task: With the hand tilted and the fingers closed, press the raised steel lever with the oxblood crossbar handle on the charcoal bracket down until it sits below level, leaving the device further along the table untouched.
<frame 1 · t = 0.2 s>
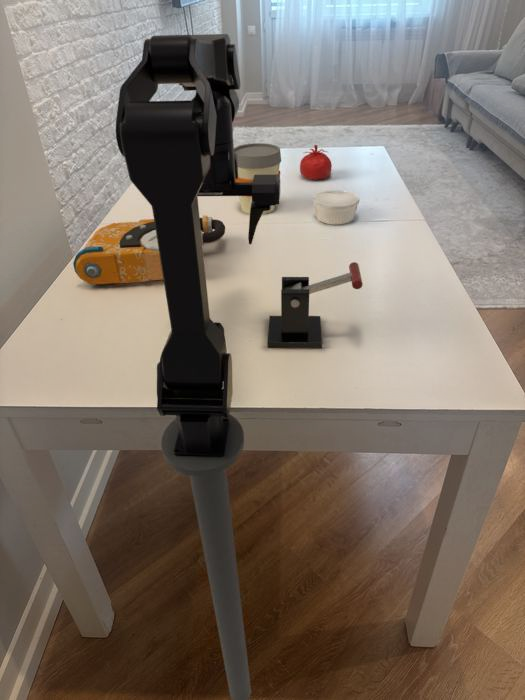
hand: (221, 243, 78), 15 cm above the table, tool pointing down, fingers open, 9 cm apart
lever: (323, 285, 78), point 10 cm above the table, hinge at 20.0°
device: (158, 262, 108), on the table
bracket: (294, 334, 84), on the table
red tomato: (315, 177, 150), on the table
reusable coffee cup: (258, 209, 131), on the table
ramekin: (335, 218, 124), on the table
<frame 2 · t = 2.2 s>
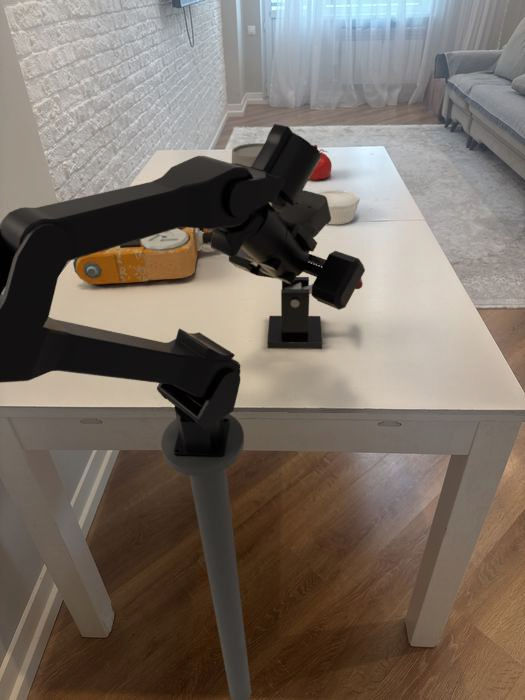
hand: (316, 287, 70), 13 cm above the table, tool tilted 45°, fingers open, 9 cm apart
nothing on the table moved.
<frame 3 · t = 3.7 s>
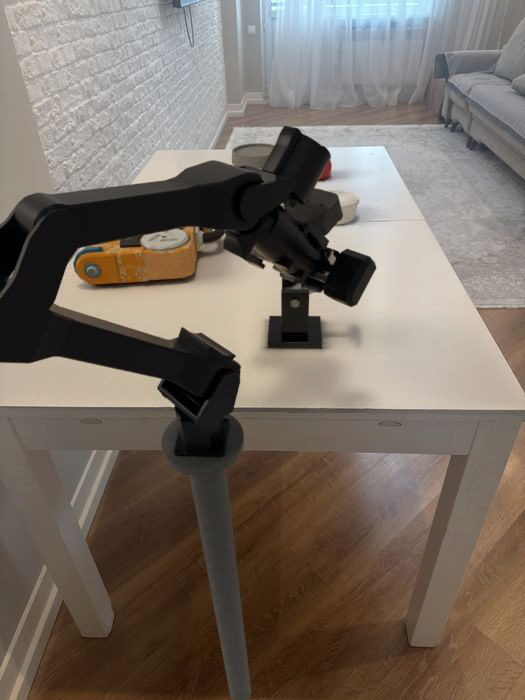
hand: (329, 282, 71), 14 cm above the table, tool tilted 45°, fingers closed
nothing on the table moved.
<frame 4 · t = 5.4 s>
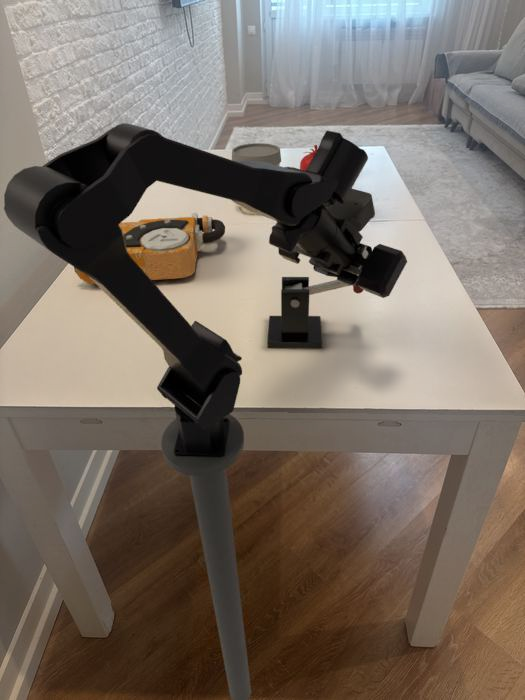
hand: (358, 276, 76), 12 cm above the table, tool tilted 45°, fingers closed
lever: (323, 287, 78), point 9 cm above the table, hinge at 15.5°, touching gripper
everything else where it was.
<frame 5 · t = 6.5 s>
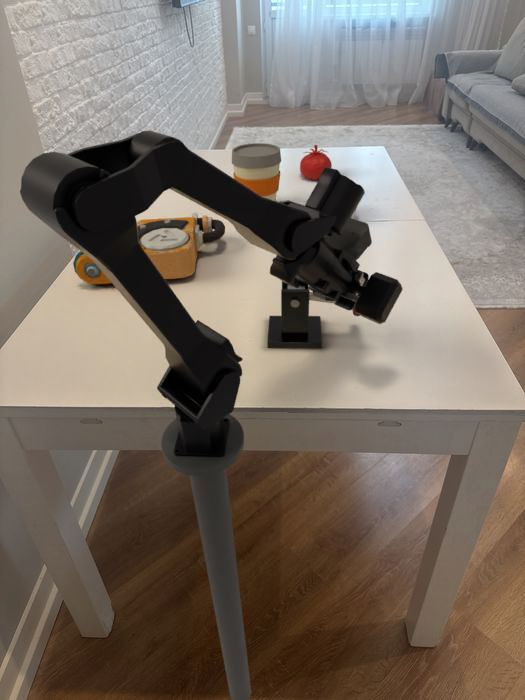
hand: (356, 299, 78), 8 cm above the table, tool tilted 45°, fingers closed
lever: (323, 297, 79), point 7 cm above the table, hinge at -8.7°, touching gripper
everything else where it was.
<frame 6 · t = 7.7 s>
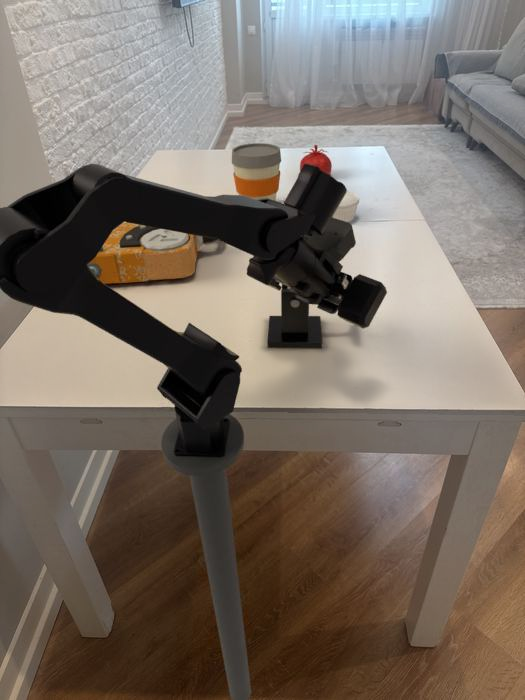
hand: (341, 303, 75), 9 cm above the table, tool tilted 45°, fingers closed
lever: (323, 298, 80), point 7 cm above the table, hinge at -9.3°
everything else where it was.
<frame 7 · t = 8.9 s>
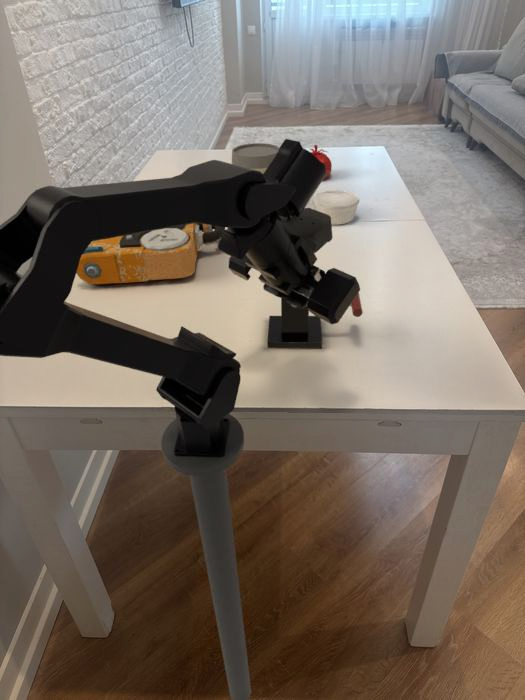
hand: (309, 303, 72), 11 cm above the table, tool tilted 35°, fingers closed
nothing on the table moved.
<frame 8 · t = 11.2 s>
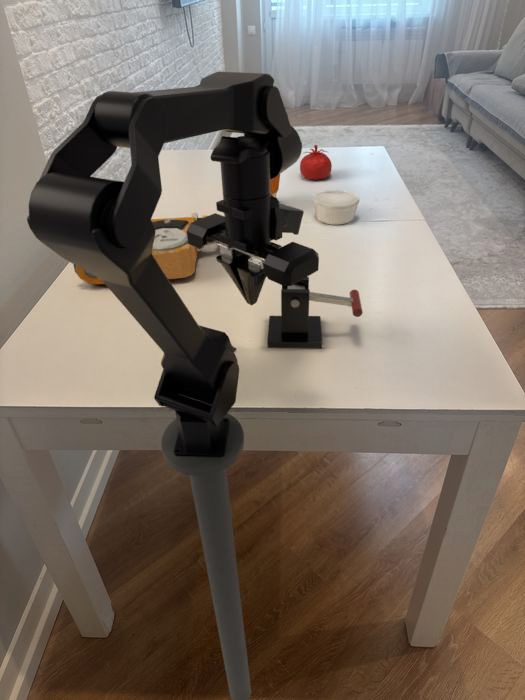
hand: (252, 303, 68), 13 cm above the table, tool pointing down, fingers closed
nothing on the table moved.
at the end: lever at -9° (first picture: +20°); device moved 0.2 cm from its start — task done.
